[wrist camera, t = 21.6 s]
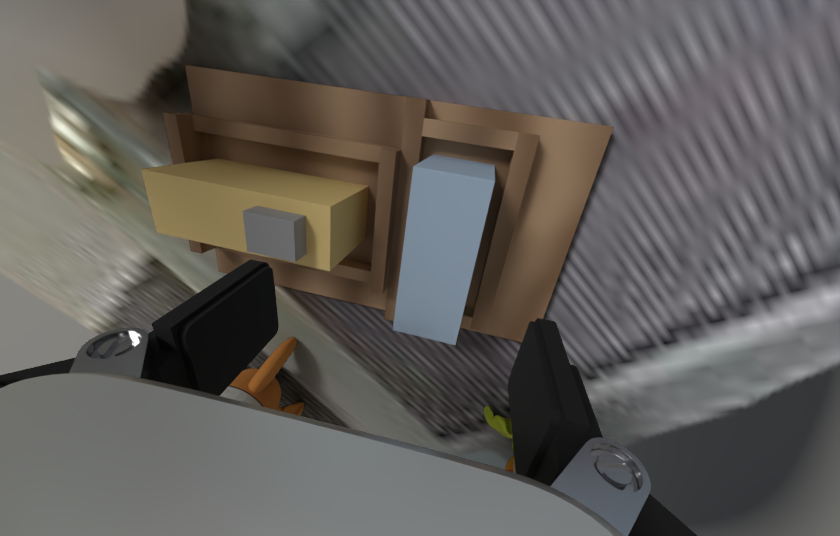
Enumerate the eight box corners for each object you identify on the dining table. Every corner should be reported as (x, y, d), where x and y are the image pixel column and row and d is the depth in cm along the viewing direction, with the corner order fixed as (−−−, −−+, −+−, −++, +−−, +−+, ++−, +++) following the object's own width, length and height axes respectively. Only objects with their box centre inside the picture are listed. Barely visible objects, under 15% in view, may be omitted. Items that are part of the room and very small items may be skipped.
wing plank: (413, 285, 25) (392, 329, 20) (433, 154, 21) (413, 166, 16) (463, 297, 25) (455, 345, 20) (494, 164, 20) (495, 180, 15)
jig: (225, 267, 30) (197, 283, 27) (194, 66, 23) (151, 59, 20) (532, 338, 26) (536, 365, 23) (609, 126, 19) (629, 127, 16)
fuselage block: (225, 209, 26) (138, 238, 20) (218, 158, 24) (120, 172, 18) (365, 238, 25) (320, 280, 18) (368, 186, 23) (319, 212, 16)
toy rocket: (326, 404, 36) (207, 566, 25) (253, 370, 39) (116, 499, 28) (316, 342, 31) (155, 514, 19) (232, 307, 33) (47, 437, 22)
